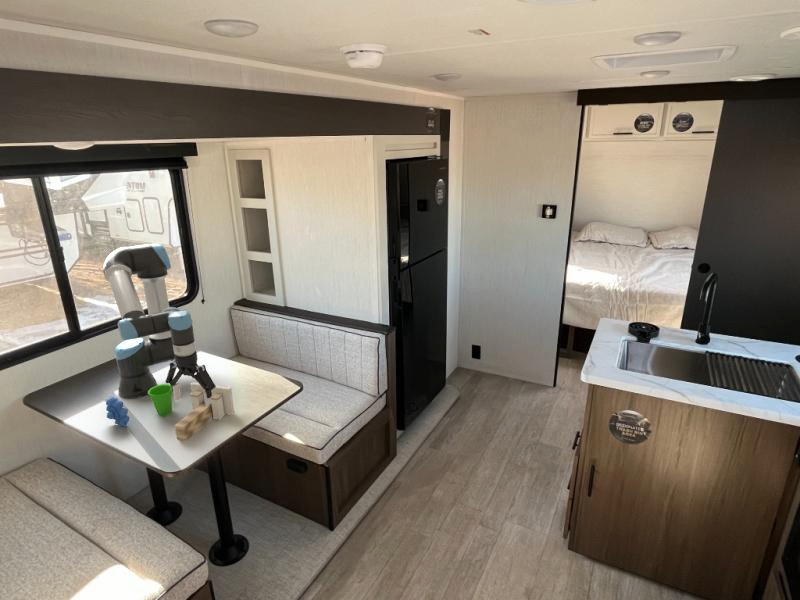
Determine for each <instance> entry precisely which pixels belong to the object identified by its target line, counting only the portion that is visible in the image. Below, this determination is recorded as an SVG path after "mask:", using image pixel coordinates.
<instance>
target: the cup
mask: <svg viewBox="0 0 800 600" xmlns="http://www.w3.org/2000/svg"><path fill="white" fill-rule="evenodd" d="M147 395H149V397H150V400H151V401H152V404H153V407H154V409H155V411H156V414H157V416H159V417H166V416H169V415H170V414H172V412H173V411H172V408H173V407H172V406H173V401H172V400H173V392H172V388H171V385H170V384H169V383H168V384H167V383H164V384H157V386H154V387H152V388H151V389H150V390H149V391H148V394H147Z"/></svg>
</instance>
